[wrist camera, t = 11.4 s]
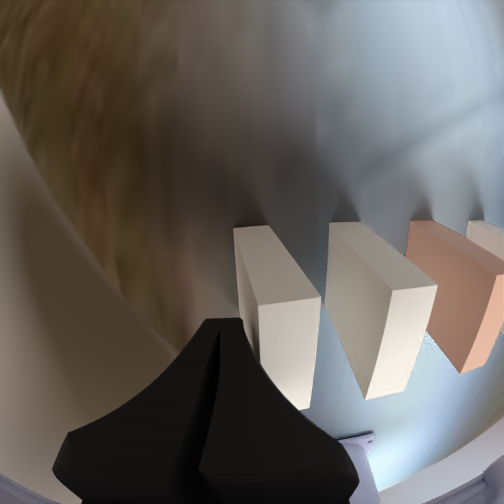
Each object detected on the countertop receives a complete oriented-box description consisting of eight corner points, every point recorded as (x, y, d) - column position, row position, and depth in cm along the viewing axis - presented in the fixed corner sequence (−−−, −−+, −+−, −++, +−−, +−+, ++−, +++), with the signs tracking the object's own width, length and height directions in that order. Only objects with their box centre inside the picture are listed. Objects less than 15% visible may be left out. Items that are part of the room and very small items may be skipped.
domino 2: (360, 221, 15) (437, 284, 8) (352, 302, 17) (403, 391, 10) (329, 222, 15) (392, 290, 8) (324, 305, 17) (364, 400, 10)
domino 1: (268, 225, 15) (321, 296, 8) (270, 309, 17) (309, 408, 10) (233, 228, 15) (257, 305, 8) (239, 312, 17) (262, 416, 10)
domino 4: (484, 220, 15) (562, 262, 8) (470, 286, 17) (533, 342, 10) (467, 220, 15) (549, 265, 8) (454, 288, 17) (518, 349, 10)
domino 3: (433, 220, 15) (519, 271, 8) (420, 294, 17) (484, 364, 10) (409, 220, 15) (496, 275, 8) (398, 296, 17) (459, 374, 10)
